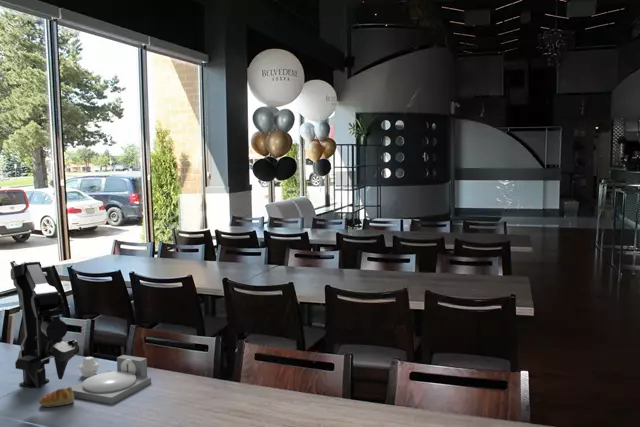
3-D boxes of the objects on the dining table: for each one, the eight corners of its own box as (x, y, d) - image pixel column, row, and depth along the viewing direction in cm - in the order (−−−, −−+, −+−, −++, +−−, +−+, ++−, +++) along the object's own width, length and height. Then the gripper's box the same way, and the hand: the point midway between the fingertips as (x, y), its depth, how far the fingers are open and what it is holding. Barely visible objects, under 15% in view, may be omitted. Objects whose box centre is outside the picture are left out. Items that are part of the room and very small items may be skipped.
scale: (66, 395, 176) (65, 373, 176) (114, 373, 196) (113, 353, 195) (111, 404, 170) (111, 381, 169) (157, 380, 189) (156, 359, 189)
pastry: (41, 410, 165) (40, 398, 165) (38, 402, 171) (37, 390, 170) (76, 402, 170) (75, 390, 170) (72, 394, 176) (71, 383, 175)
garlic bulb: (76, 377, 193) (75, 357, 192) (93, 372, 197) (92, 352, 197) (85, 381, 189) (84, 360, 188) (102, 376, 193) (101, 356, 193)
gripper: (41, 344, 158) (43, 398, 159) (91, 327, 175) (93, 376, 176) (12, 340, 162) (15, 393, 163) (64, 324, 179) (66, 372, 180)
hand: (49, 383), depth 171 cm, fingers open, 8 cm apart
